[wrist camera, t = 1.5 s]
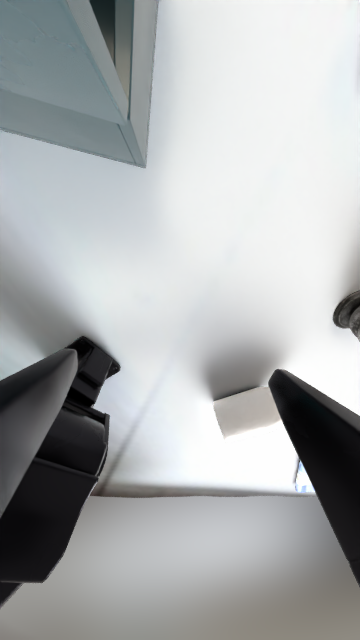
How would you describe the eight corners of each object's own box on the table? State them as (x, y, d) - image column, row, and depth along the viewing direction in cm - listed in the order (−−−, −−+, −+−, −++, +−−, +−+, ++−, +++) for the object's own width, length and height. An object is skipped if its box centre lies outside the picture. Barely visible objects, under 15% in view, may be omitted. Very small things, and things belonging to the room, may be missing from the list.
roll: (288, 393, 28) (313, 427, 23) (219, 414, 30) (230, 451, 25) (285, 369, 25) (314, 402, 21) (209, 393, 27) (219, 431, 22)
